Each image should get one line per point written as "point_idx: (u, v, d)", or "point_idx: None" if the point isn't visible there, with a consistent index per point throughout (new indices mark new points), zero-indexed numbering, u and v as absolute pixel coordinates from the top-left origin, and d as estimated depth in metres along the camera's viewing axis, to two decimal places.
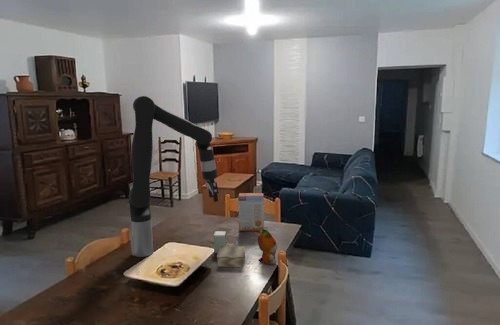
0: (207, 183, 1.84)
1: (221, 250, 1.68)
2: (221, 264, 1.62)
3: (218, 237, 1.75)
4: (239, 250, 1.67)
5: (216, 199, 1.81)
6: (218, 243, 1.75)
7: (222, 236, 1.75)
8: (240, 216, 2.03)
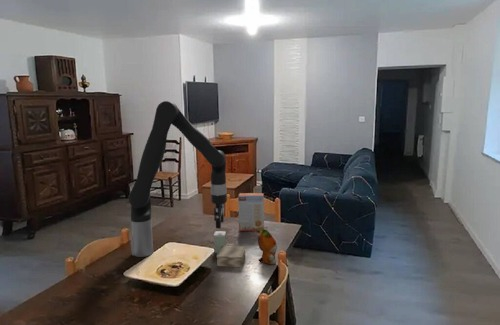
0: None
1: (221, 250, 1.68)
2: (221, 264, 1.62)
3: (218, 237, 1.75)
4: (240, 250, 1.67)
5: (218, 226, 1.71)
6: (218, 243, 1.75)
7: (222, 236, 1.75)
8: (240, 216, 2.03)
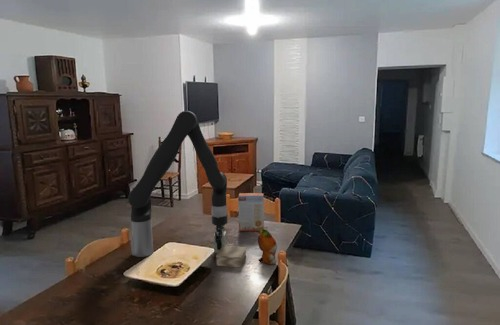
0: None
1: (221, 250, 1.68)
2: (220, 264, 1.62)
3: None
4: (240, 250, 1.67)
5: (219, 247, 1.75)
6: None
7: None
8: (240, 216, 2.03)
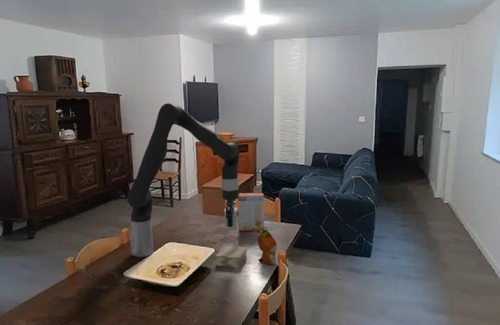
0: (226, 203, 1.64)
1: (222, 249, 1.68)
2: (219, 263, 1.63)
3: None
4: (240, 251, 1.67)
5: (230, 224, 1.61)
6: None
7: None
8: (240, 216, 2.03)
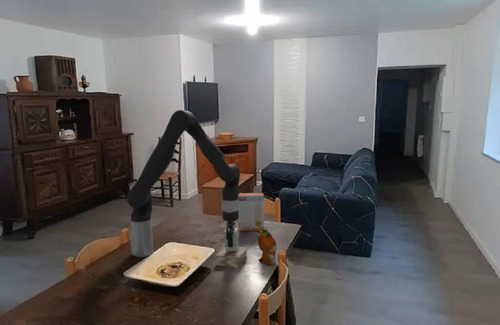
0: None
1: (222, 249, 1.68)
2: (219, 263, 1.63)
3: None
4: (240, 251, 1.67)
5: (230, 245, 1.62)
6: None
7: None
8: (240, 216, 2.03)
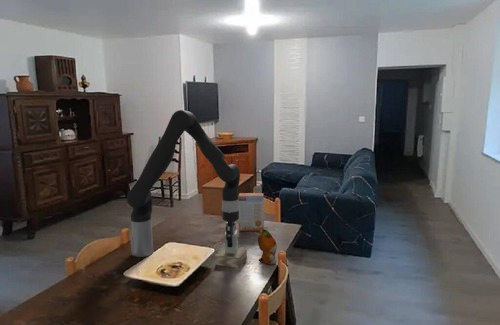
0: None
1: (222, 249, 1.69)
2: (219, 263, 1.63)
3: (229, 236, 1.63)
4: (240, 251, 1.66)
5: (230, 245, 1.61)
6: None
7: (233, 235, 1.63)
8: (240, 216, 2.03)
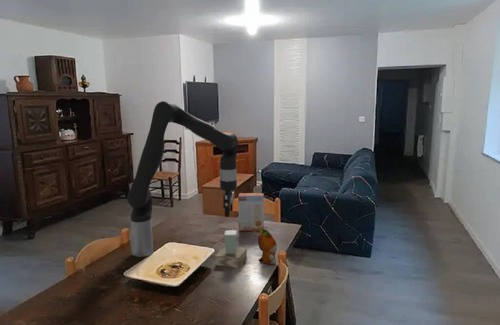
0: (225, 194, 1.63)
1: (222, 249, 1.68)
2: (219, 263, 1.63)
3: (230, 237, 1.63)
4: (240, 251, 1.66)
5: (227, 214, 1.59)
6: (229, 243, 1.63)
7: (233, 235, 1.62)
8: (240, 216, 2.03)
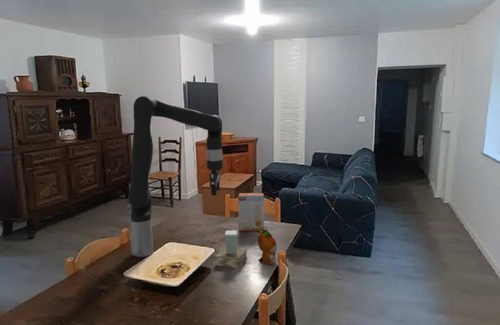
0: None
1: (222, 250, 1.68)
2: (219, 263, 1.63)
3: (230, 237, 1.62)
4: (239, 251, 1.66)
5: (213, 193, 1.65)
6: (230, 243, 1.63)
7: (234, 235, 1.62)
8: (240, 216, 2.03)
